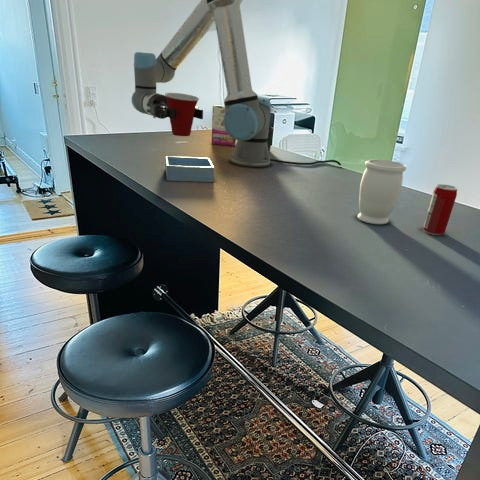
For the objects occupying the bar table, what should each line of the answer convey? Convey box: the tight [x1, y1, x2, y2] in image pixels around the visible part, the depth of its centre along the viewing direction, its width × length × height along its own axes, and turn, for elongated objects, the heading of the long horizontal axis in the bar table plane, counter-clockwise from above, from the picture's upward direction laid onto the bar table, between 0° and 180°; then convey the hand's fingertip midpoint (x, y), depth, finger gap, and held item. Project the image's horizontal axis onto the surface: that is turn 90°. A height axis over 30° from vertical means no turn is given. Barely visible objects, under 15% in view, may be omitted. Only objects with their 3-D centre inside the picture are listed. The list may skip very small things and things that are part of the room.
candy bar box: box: [211, 104, 237, 147], centre depth 203 cm, size 11×5×16 cm, turn 81°
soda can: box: [422, 183, 458, 236], centre depth 113 cm, size 6×6×12 cm
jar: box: [357, 159, 407, 225], centre depth 117 cm, size 11×10×15 cm
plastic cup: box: [164, 92, 200, 137], centre depth 143 cm, size 11×11×12 cm
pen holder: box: [267, 126, 274, 152], centre depth 197 cm, size 9×9×10 cm
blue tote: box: [165, 155, 215, 183], centre depth 148 cm, size 15×15×5 cm
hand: (188, 114), depth 139 cm, fingers closed on plastic cup, 9 cm apart
